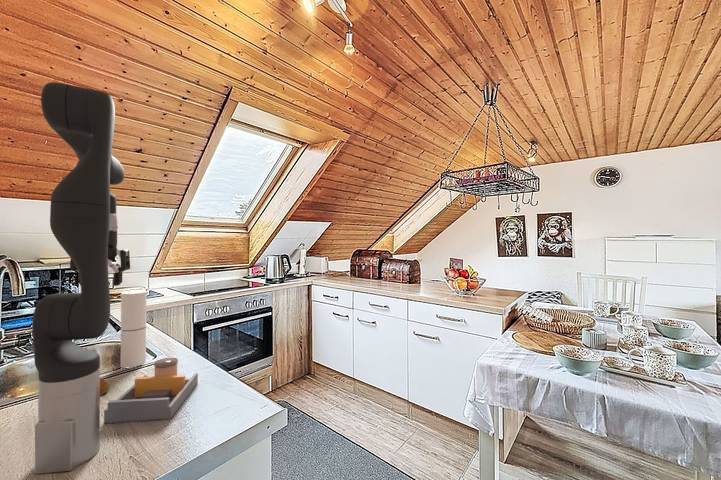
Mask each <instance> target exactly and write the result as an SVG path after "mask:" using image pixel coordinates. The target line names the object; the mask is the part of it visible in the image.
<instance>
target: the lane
mask: <svg viewBox="0 0 721 480" xmlns="http://www.w3.org/2000/svg"><path fill="white" fill-rule="evenodd" d="M142 377H148V374H147V375H143V376H142ZM198 378H199V375H198V373H197V372H196V373H194V374H193V375H192V376H191V377H187V378H186V377H185V386H184V387H183V388H182V390H181V391H180V392H179V393H178V395H171V396H170V397H167V398H149V399H142V397H135V383H134V384H133V385H131V386H130V387H129V389H127V390H125V392H124V393H122V394H121V395H120V396H119V397H118V398H117V399H114V400H109V401H108V402H107V407H106V408H105V409H104V410H103V424H104V425H105V424H120V423H121V424H122V423H132V422H133V423H136V422H152V421H153V420H154V421H165V420H166V421H167V420H172V418H174V416H175V415H176V413H177V412H178V410H179V409H180V408H181V407H182V405H183V404H184V402H185V401H186V400H187V398H188V397H189V396H190V395H191V393H192V392H193V390H194V389H195V388H196V387H197V385H198V383H199V382H198V381H199V380H198Z"/></svg>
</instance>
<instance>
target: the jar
mask: <svg viewBox="0 0 721 480" xmlns="http://www.w3.org/2000/svg"><path fill="white" fill-rule="evenodd" d="M178 363H179V359H178V358H177V357H164V358H160V359H158V360H156V361H154V363H153V366H154V376H176V375H178Z"/></svg>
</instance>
